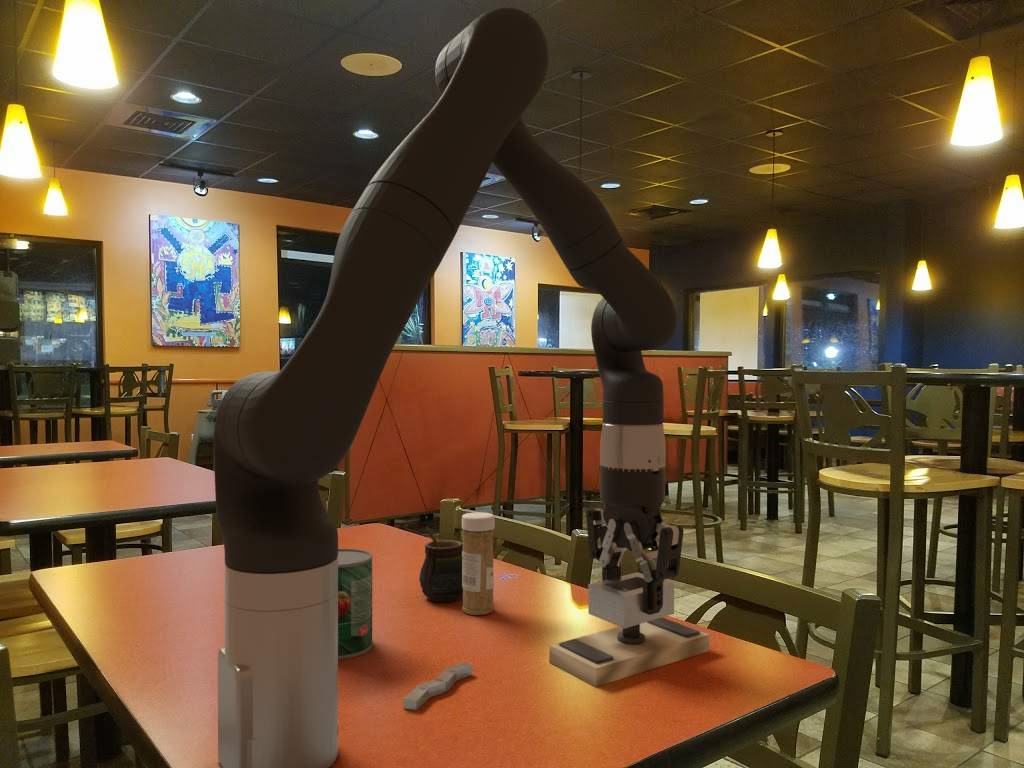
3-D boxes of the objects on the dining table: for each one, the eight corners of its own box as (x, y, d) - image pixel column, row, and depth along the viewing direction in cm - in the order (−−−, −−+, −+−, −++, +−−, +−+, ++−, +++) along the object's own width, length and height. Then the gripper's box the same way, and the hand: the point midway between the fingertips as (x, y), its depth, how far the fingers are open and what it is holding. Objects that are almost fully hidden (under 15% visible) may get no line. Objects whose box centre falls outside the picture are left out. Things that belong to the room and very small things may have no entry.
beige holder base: (595, 687, 79) (596, 611, 79) (549, 662, 85) (549, 593, 85) (709, 651, 89) (710, 584, 89) (660, 631, 96) (660, 569, 96)
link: (624, 628, 83) (624, 597, 83) (588, 613, 88) (588, 584, 87) (674, 613, 87) (674, 584, 87) (637, 600, 92) (637, 572, 92)
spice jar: (500, 612, 103) (501, 515, 103) (471, 618, 100) (472, 518, 100) (483, 603, 107) (483, 510, 106) (455, 609, 104) (455, 513, 104)
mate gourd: (448, 608, 104) (447, 537, 104) (407, 600, 109) (406, 531, 108) (478, 595, 110) (478, 528, 110) (439, 587, 115) (438, 523, 114)
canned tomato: (378, 635, 94) (378, 548, 93) (364, 660, 86) (364, 565, 86) (316, 634, 94) (316, 547, 94) (296, 659, 86) (296, 564, 86)
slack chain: (414, 711, 73) (414, 701, 73) (396, 706, 74) (396, 696, 74) (475, 674, 82) (475, 665, 82) (459, 669, 83) (459, 660, 83)
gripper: (568, 458, 91) (567, 595, 91) (654, 471, 79) (653, 629, 79) (613, 454, 95) (613, 585, 95) (702, 466, 83) (701, 616, 84)
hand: (631, 604), depth 87 cm, fingers closed on link, 6 cm apart
